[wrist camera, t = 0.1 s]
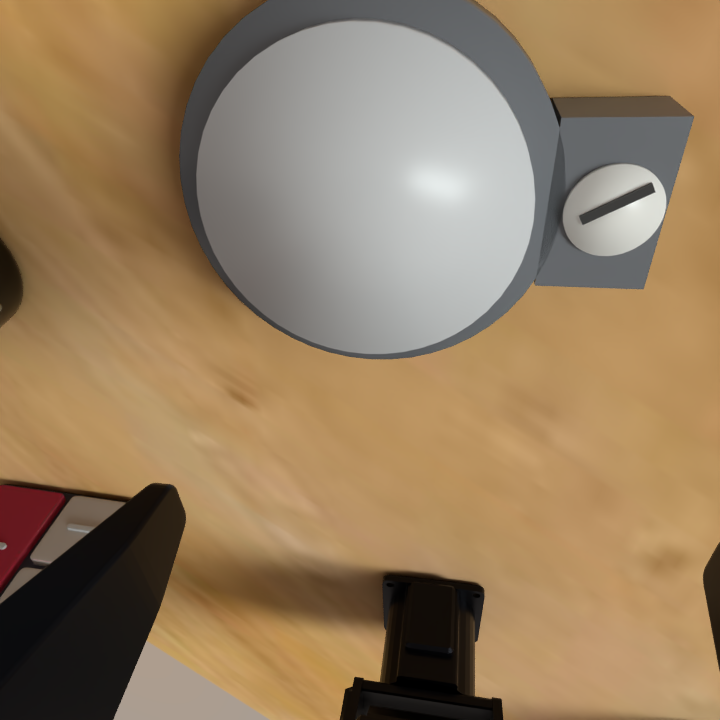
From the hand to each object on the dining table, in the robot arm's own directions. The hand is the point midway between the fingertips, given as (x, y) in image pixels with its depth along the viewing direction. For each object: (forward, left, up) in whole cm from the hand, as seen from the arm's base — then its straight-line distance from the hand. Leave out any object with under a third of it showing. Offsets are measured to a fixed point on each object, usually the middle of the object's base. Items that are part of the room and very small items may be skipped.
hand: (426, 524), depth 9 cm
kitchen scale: (+1, +1, -15) cm, 15 cm away
